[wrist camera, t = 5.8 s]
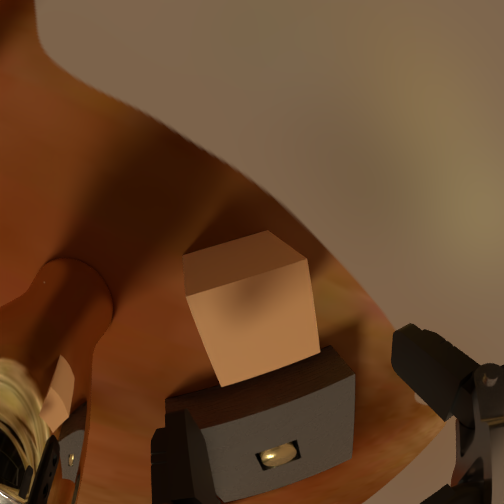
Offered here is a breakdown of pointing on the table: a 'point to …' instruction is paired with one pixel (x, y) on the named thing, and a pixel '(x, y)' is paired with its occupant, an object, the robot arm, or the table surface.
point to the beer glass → (49, 381)
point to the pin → (278, 454)
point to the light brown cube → (251, 305)
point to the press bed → (275, 423)
